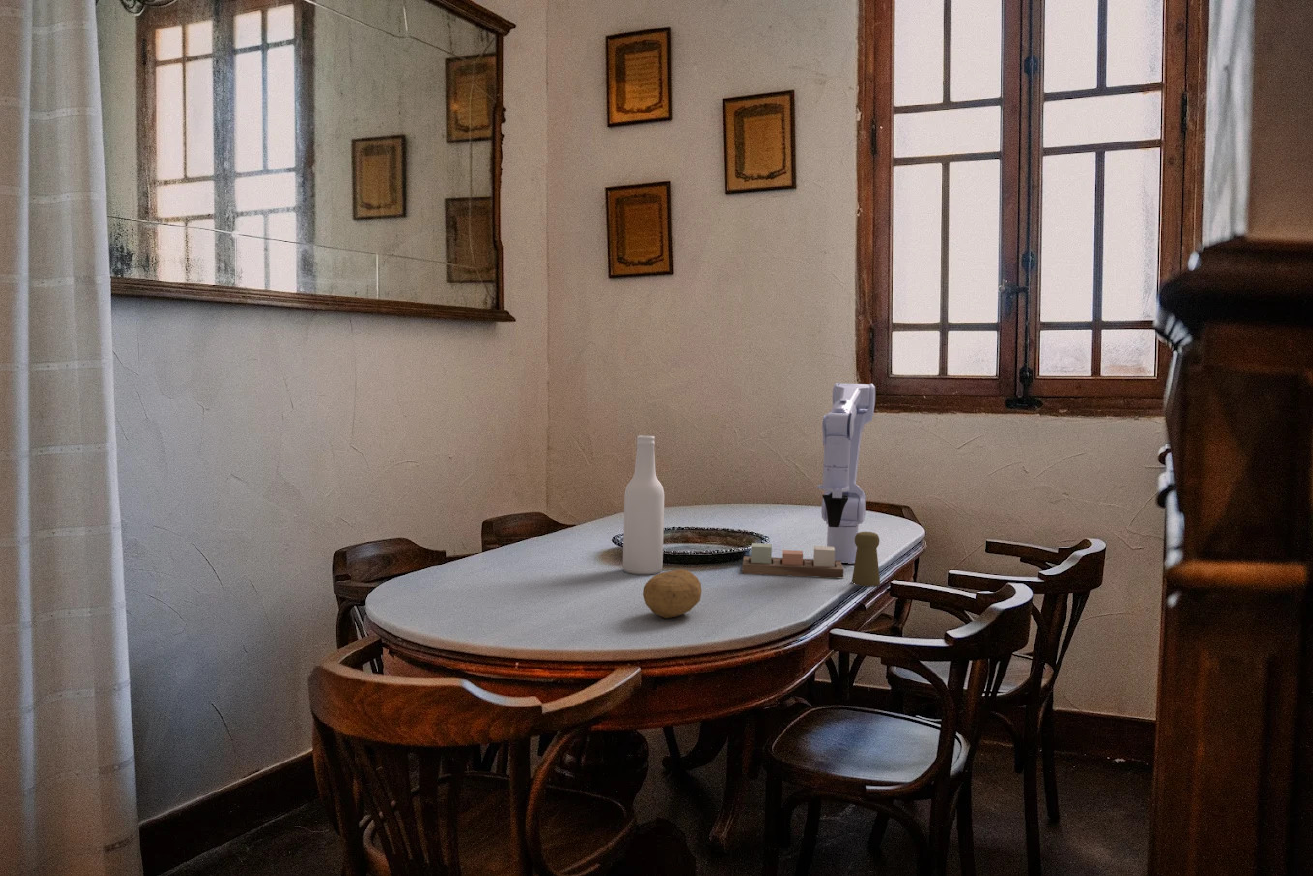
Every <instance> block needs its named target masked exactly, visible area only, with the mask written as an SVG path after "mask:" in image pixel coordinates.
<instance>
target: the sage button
mask: <svg viewBox="0 0 1313 876" xmlns="http://www.w3.org/2000/svg"><path fill="white" fill-rule="evenodd" d="M772 548H773V544H772V543H759V542H752V543H751V550H750V551H751V552H750V555H751V563H764V564H771V557H772V556H773V555H772V554H773V553H772V551H773V549H772Z"/></svg>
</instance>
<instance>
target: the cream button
mask: <svg viewBox="0 0 1313 876" xmlns="http://www.w3.org/2000/svg"><path fill="white" fill-rule="evenodd" d="M812 559H813V564H814V566H827V567H835V548H834V547H827V545H825V546H824V545H821V546H820V545H813V558H812Z"/></svg>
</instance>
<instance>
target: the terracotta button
mask: <svg viewBox="0 0 1313 876" xmlns="http://www.w3.org/2000/svg"><path fill="white" fill-rule="evenodd" d="M781 556H782V557H781V558H782V564H785V565H803V559H804V551H803V550H794V549H793V550H792V549H782V555H781Z"/></svg>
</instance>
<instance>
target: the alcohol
mask: <svg viewBox="0 0 1313 876" xmlns="http://www.w3.org/2000/svg"><path fill="white" fill-rule="evenodd" d="M636 439H637V440H636V444H637V446H636V454H635V465H634V474H633V476H632V478H631V480H630V481H629V482H628V483H627V484H626V486H625V490H624V496H623V497H624V498H623V499H624V500H623V501H624V504H623V506H624V507H623V531H622V532H623V535H622V537H623V539H622V542H623V543H622V569H623V571H624V572H625V573H626V574H631V575H636V576H637V575H638V576H640V575H642V576H650V575H657V574H660V573H661V570H662V569H663V564H664V563H663V560H664V527H665V526H664V524H665V523H664V521H665V490H664V486H663V484H662V483H661V482H660V481H659V480H658V476H657V473H656V458H655V457H656V455H655V454H656V453H655V444H656V441H655V439H656V437H655V435H648V434H647V435H646V434H645V435H644V434H643V435H637V437H636Z"/></svg>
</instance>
